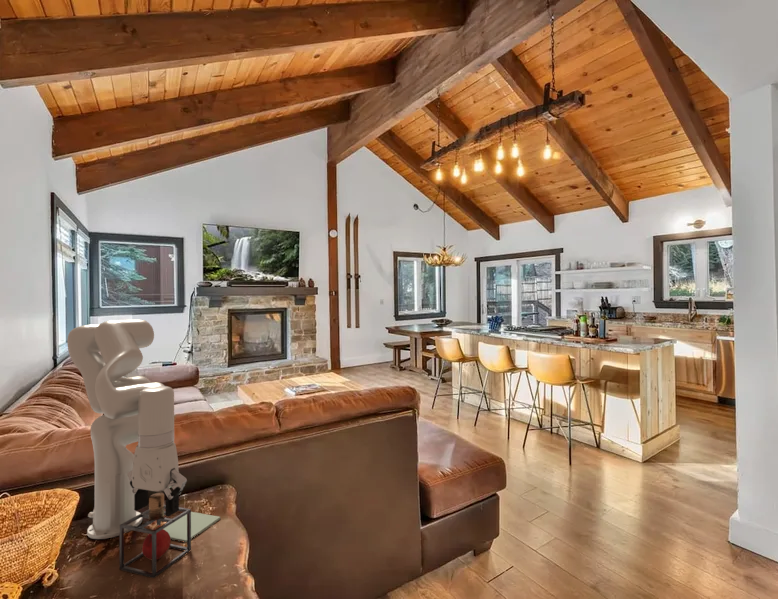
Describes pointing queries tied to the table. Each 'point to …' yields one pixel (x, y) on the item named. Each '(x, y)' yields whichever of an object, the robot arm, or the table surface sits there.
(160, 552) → the onion
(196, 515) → the mat
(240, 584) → the table surface
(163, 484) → the robot arm
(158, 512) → the dark grey metal frame
